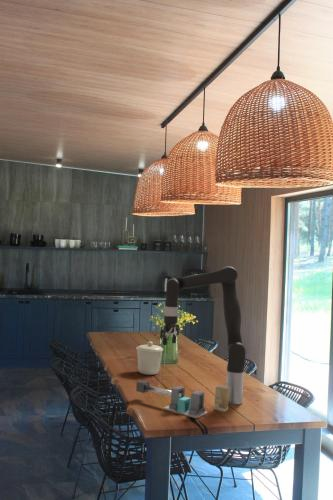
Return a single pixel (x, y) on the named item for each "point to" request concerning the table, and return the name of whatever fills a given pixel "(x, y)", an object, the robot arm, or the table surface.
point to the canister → (149, 358)
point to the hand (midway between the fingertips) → (169, 344)
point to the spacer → (183, 403)
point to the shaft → (152, 388)
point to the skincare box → (221, 398)
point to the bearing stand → (196, 403)
